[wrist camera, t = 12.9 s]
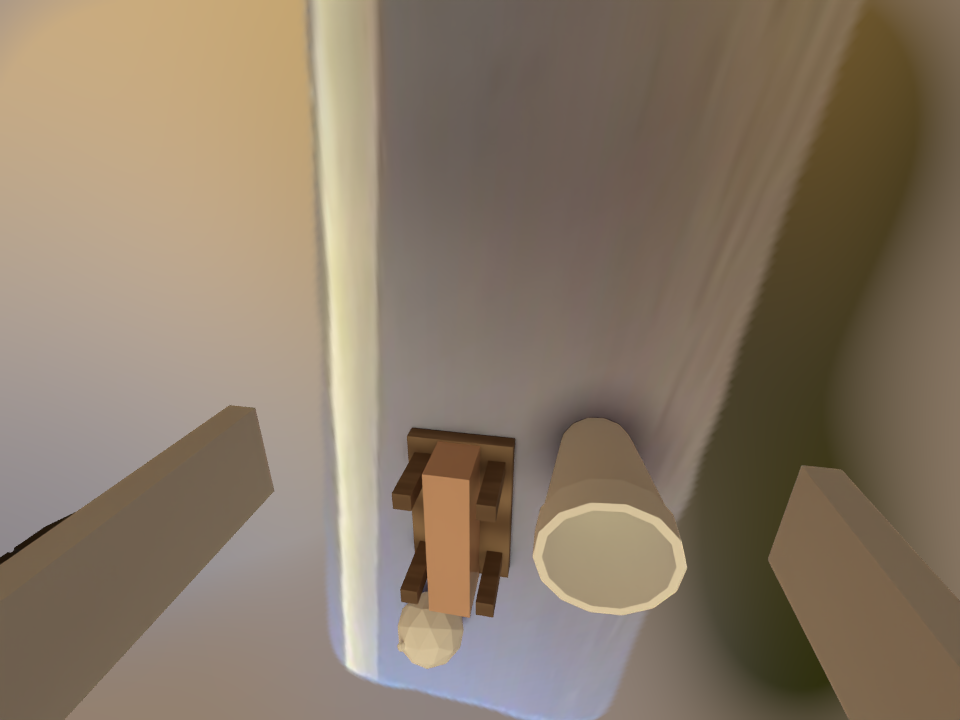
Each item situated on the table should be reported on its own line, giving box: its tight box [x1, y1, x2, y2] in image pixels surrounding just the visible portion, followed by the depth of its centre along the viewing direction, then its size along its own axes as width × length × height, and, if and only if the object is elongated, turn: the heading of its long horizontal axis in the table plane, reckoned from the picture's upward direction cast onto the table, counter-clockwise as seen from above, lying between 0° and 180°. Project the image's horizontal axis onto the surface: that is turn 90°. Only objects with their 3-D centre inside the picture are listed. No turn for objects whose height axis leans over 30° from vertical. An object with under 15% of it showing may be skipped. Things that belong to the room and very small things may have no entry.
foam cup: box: [533, 418, 687, 615], centre depth 34 cm, size 10×9×13 cm
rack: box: [392, 428, 515, 617], centre depth 42 cm, size 16×10×8 cm, turn 179°
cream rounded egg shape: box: [397, 591, 464, 669], centre depth 48 cm, size 7×7×8 cm
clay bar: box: [422, 441, 480, 618], centre depth 41 cm, size 16×4×5 cm, turn 179°
